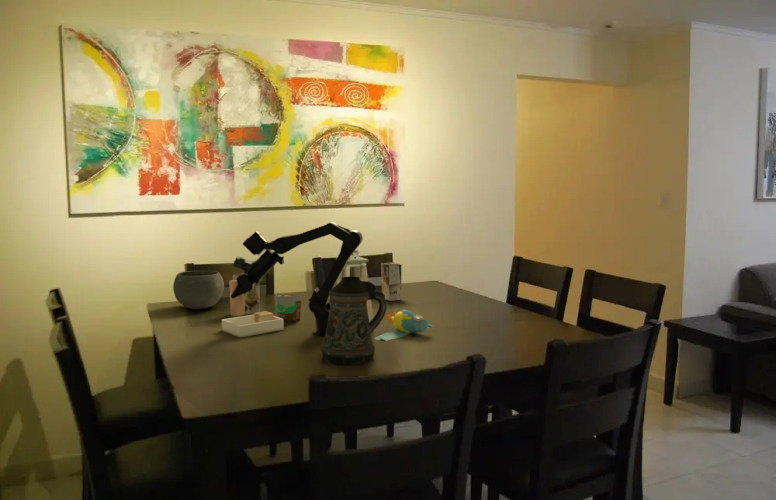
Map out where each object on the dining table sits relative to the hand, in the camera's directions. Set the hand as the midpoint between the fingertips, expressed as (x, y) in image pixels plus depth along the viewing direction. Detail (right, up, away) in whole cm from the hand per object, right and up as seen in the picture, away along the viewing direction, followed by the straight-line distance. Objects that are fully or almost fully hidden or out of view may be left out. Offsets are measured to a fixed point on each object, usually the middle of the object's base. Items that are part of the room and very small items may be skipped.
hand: (233, 296), depth 227 cm
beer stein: (+43, -17, -29) cm, 55 cm away
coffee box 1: (-3, -10, +35) cm, 36 cm away
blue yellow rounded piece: (+61, -14, +1) cm, 63 cm away
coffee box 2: (+56, -6, +64) cm, 85 cm away
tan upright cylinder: (+1, -7, +1) cm, 7 cm away
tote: (+6, -13, +6) cm, 15 cm away
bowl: (-25, -8, +44) cm, 52 cm away
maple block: (+9, -12, +8) cm, 17 cm away
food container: (+15, -11, +21) cm, 28 cm away
